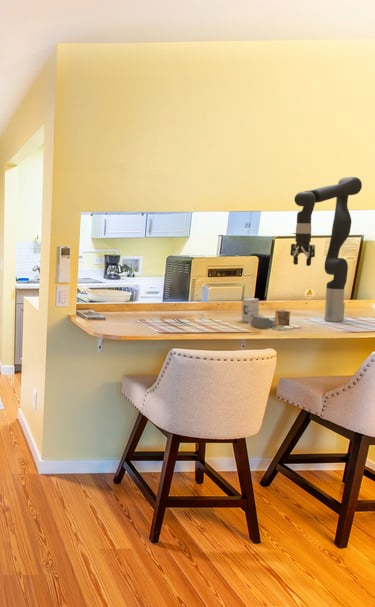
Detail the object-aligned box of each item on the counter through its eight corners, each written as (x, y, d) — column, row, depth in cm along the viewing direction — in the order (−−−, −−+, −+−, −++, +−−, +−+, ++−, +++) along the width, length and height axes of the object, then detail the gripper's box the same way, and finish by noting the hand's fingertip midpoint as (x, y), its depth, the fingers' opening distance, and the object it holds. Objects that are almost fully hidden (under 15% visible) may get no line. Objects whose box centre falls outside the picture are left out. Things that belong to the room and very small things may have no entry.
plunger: (268, 324, 290) (269, 310, 289) (288, 328, 280) (288, 314, 279) (262, 324, 288) (263, 310, 287) (282, 329, 277) (282, 314, 276)
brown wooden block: (282, 323, 295) (282, 310, 294) (289, 325, 291) (289, 311, 290) (274, 324, 292) (275, 310, 291) (281, 326, 288) (282, 312, 287)
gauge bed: (275, 322, 298) (276, 312, 298) (301, 327, 284) (302, 317, 283) (248, 325, 288) (249, 315, 287) (274, 331, 273) (274, 320, 272)
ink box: (249, 323, 294) (250, 300, 292) (241, 321, 297) (242, 299, 295) (258, 321, 300) (259, 298, 299) (250, 320, 303) (251, 297, 302)
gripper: (319, 233, 285) (317, 266, 287) (298, 232, 297) (296, 263, 299) (308, 233, 281) (307, 266, 283) (287, 232, 292) (286, 264, 295)
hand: (301, 265), depth 291 cm, fingers open, 8 cm apart
